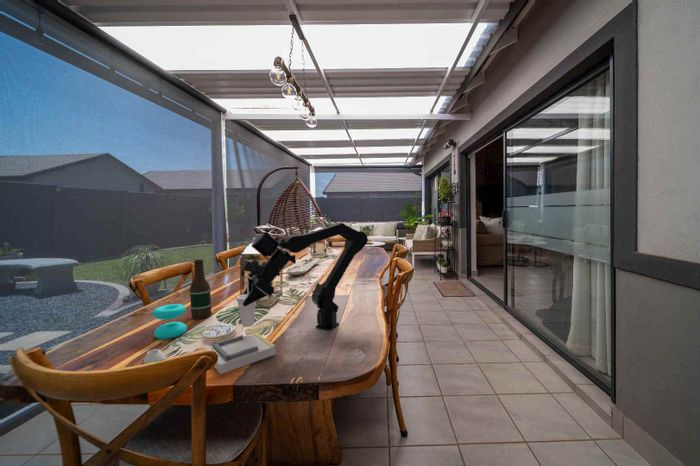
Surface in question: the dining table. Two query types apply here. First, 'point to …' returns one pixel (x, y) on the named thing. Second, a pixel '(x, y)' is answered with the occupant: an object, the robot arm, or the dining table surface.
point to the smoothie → (246, 310)
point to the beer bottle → (200, 293)
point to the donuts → (173, 327)
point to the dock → (241, 351)
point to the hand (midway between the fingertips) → (242, 302)
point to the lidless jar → (153, 356)
